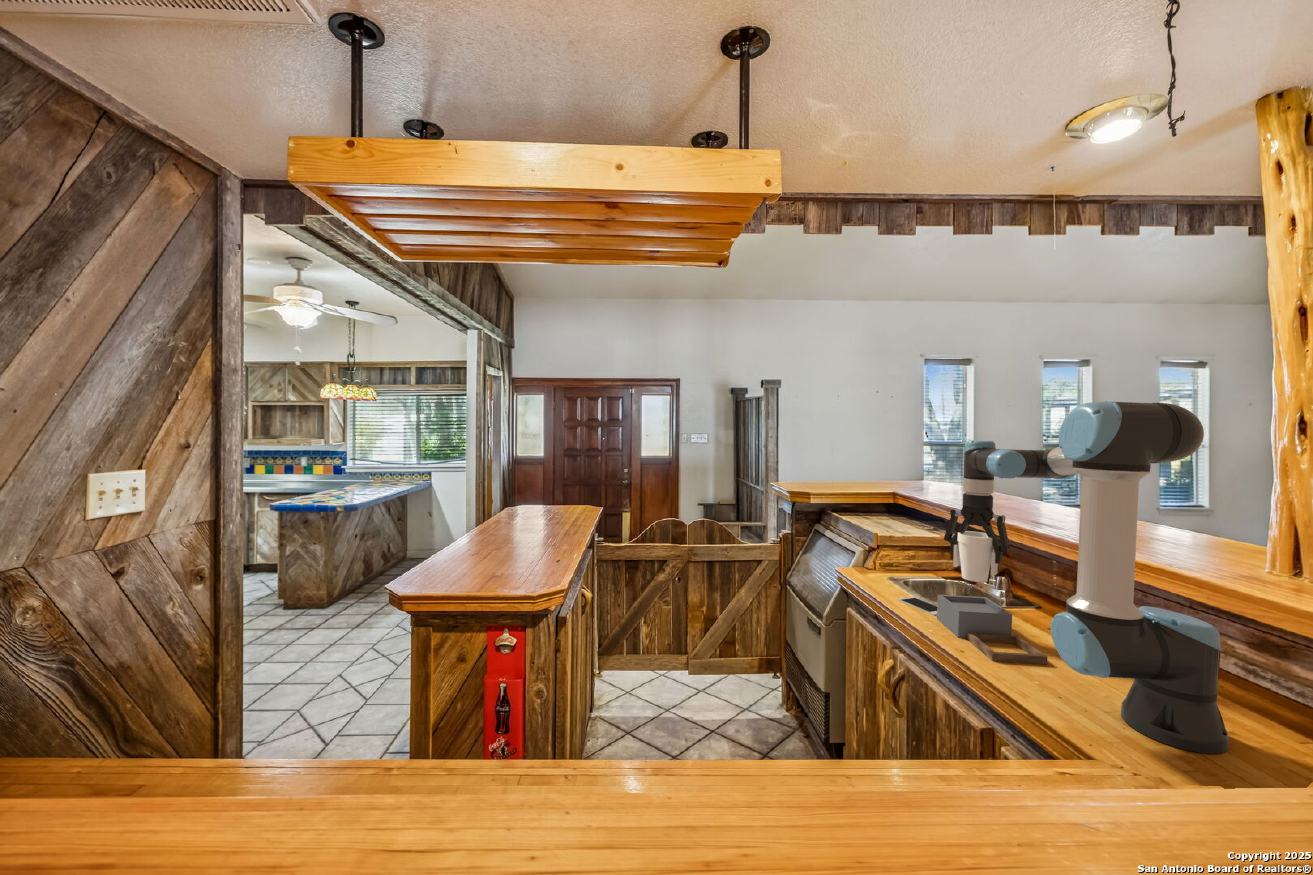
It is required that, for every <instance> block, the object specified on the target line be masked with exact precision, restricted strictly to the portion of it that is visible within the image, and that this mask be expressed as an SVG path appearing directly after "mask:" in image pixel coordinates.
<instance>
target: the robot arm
mask: <svg viewBox="0 0 1313 875" xmlns="http://www.w3.org/2000/svg"><path fill="white" fill-rule="evenodd" d="M1204 431H1205V430H1204V426H1203V424H1202V421H1201V420H1200V418H1198V416H1196V414H1194V413H1193V412H1192V411H1190V410H1189V409H1186V408H1185V407H1182V406H1180V405H1177V404H1173V403H1168V402H1167V403H1166V402H1133V401H1132V402H1130V401H1127V402H1125V401H1097V402H1085V403H1082V404H1080V405H1077V406H1075V407H1074V408H1073V409H1071V411H1070V412H1069V413H1068V414H1067V415H1066V416H1065V417H1064V419H1063V421H1062V423H1061V425H1060V428H1059V431H1058V446H1057V447H1053V448H1049V449H1043V450H1042V449H1033V450H1032V449H1008V448H1007V449H1003V448H1002V449H1001V448H996V442H994V441H993V440H981V439H980V440H977V439H976V440H975V439H974V440H972V439H969V440H967V441H966V442H965V443H964V444H965V445H964V446H965V447H964V452H963V456H964V457H963V458H964V460H963V461H964V462H963V484H962V485H963V486H962V491H963V492H964V493H962V508H961V509H957V508H953V509H950V511H949V512H950V514H949V515H950V518H949V521H948V523H947V528H946V530H945V533H944V536H943V540H944V541H945V542H948V543H949V544H950V555H953V559H952V560H953V561H952V567H953V568H957V567H961V562H960V553H959V543H958V540H957V539H958V532H960V533H961V534H964V532H965V531H967V530H968V528H969V526H977V527H981V528H982V529H983V530H984V533H986V534H987V536H988V538H992V546H993V548H994V550H993V552H992V559H991V564H990V576H996V575H997V574H998V568H999V567H998V566H999V565H1000V564H1002V562H1003V553H1005V552H1009V551H1010V550H1011V545H1010V542H1009V537H1008V533H1007V528H1006V524H1005V522H1006V516H1005V515H1002V514H1001V515H999V514H995V512H994V510H993V509H994V496H993V495H992V494H994V485H995V477H996V478H1000V479H1009V480H1010V479H1015V478H1020V479H1022V478H1027V479H1030V478H1031V479H1034V478H1035V479H1054V480H1062V479H1072V478H1074V477H1075V476H1076V475H1077V474H1078V475H1079V476H1080V478H1081V483H1080V504H1079V505H1080V506H1079V507H1080V508H1079V527H1078V529H1079V531H1078V554H1077V576H1076V579H1077V580H1076V593H1075V594H1074V595H1072V596H1071V597H1069V598H1067V599H1066V604H1065V605H1066V609H1065V610H1066V611H1062V612H1059V613H1057V614H1055V615H1054V617H1053V618H1052V619H1051V622H1050V634H1051V640H1052V642H1053V645H1054V647H1055V649H1056V650H1055V651H1057V653H1058V655H1059V656H1060V658H1061V659H1062V661H1063V662H1064V663H1065V664H1066V665H1067V666H1068V667H1069V668H1070V669H1072V670H1073V671H1074V672H1076V673H1078V674H1080V675H1082V676H1083V675H1084V676H1091V677H1098V678H1100V679H1105V678H1112V679H1113V678H1114V679H1118V678H1119V679H1133V682H1132V684H1131V686H1130V688H1129V690H1128V692H1127V695H1126V697H1125V699H1123V701H1122V702H1121V705H1120V716H1121V719H1122V720H1123V721H1124V722H1125V723H1126V724H1127V725H1128V726H1129V727H1130V728H1132V729H1134V730H1136V731H1137V732H1139V733H1140V734H1143V735H1144V736H1146V737H1149V738H1151V739H1153V740H1155V741H1158V742H1159V743H1162V744H1165V745H1167V746H1171V747H1175V748H1178V749H1181V750H1185V751H1190V752H1194V753H1201V754H1211V755H1213V754H1214V755H1215V754H1216V755H1217V754H1223V753H1226V752H1228V750H1229V744H1230V737H1229V732H1228V731H1227V729H1226V726H1225V722H1224V720H1223V716H1222V713H1221V711H1220V708H1219V705H1218V691H1219V690H1218V688H1219V679H1220V678H1219V676H1220V666H1221V665H1220V664H1221V652H1222V648H1221V634H1220V631H1219V630H1218V629H1217V628H1216V626H1214V625H1213V624H1211V623H1208V622H1207V621H1204V620H1201V619H1199V618H1196V617H1193V616H1190V615H1187V614H1184V613H1180V612H1177V611H1174V610H1169V609H1164V608H1160V607H1155V606H1148V605H1146V606H1145V605H1144V606H1143V605H1142V606H1140V607H1137V606H1136V605H1135V603H1134V601H1135V600H1134V598H1135V597H1134V596H1135V578H1136V577H1135V572H1136V550H1137V536H1138V535H1137V531H1138V530H1137V529H1138V514H1139V513H1138V512H1139V510H1138V506H1139V487H1140V481H1141V480H1142V479H1143V478H1146V477H1147V476H1148V475H1150V474H1151V465H1152V464H1160V463H1168V462H1171V463H1172V462H1176V461H1177V462H1178V461H1181V460H1182V459H1186V458H1188V457H1189V456H1191V455H1193V454H1194V453H1196V452H1197V450H1199V448H1200V447H1201V446H1202V443H1203V442H1204V437H1205V432H1204ZM961 515H962V517H963V518H964V519H963V521H962V522H961V523H960V524H961V525H960V526H959V528H957V530H956V532H955V533H954V531H955V528H956V526H957V522H958V520H959V517H960V516H961ZM993 519H994V522H995V523H996V527H997V532H998V537H999V539H998V537H997V535H996V533H995V531H994V528H993V525H992V524H991V520H993ZM953 534H954V535H953ZM999 540H1000V541H999Z"/></svg>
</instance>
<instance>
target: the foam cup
mask: <svg viewBox="0 0 1313 875" xmlns="http://www.w3.org/2000/svg"><path fill="white" fill-rule="evenodd" d="M957 540H958V543H957V544H959V553H960V570H961V578H962V579H964V580H966V581H969V582H976V583H986V582H988V578H989V574H990V570H991V560H992V552H993V551H995V550H994V548H993V546H992V538H988V536H987V534H986V532H979V531H975V530H974V531H972V530H971V531H970V530H966V531H965V532H964V534H961V533H960V532H958V539H957Z"/></svg>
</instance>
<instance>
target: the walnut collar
mask: <svg viewBox="0 0 1313 875" xmlns="http://www.w3.org/2000/svg"><path fill="white" fill-rule="evenodd" d="M966 640H967V641H969V642H970V643H971V644H972V645H973V646H974V647H976V648H977V649H978V650H979V651H980V652H981V653H982V654H984V656H986V657H987V658H988V659H990V661H991V662H1005V663H1019V664H1021V663H1022V664H1034V665H1035V664H1036V665H1048V656H1047V655H1046V654H1045V653H1043V652H1042V651H1040V650H1038V649H1037V648H1036V647H1035V646H1033V645H1032V644H1031V643H1029V642H1028V641H1026V640H1025V639H1024V638H1022V637H1020V636H1019V635H1017V634H1015V635H1014V634H1011V635H1002V634H986V633H969V632H968V634H967V638H966ZM986 643H995V644H996V643H998V644H1009V645H1010V644H1011V645H1012V644H1013V645H1016V646H1018V647H1019V648H1020V649H1022V650H1023V651H1024V652H1026V653H1020V652H1019V653H1018V652H1006V651H1004V652H1003V651H995V650H993V649H992V648H991V647H990V646H988V645H987V644H986Z"/></svg>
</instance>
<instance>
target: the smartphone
mask: <svg viewBox="0 0 1313 875" xmlns="http://www.w3.org/2000/svg"><path fill="white" fill-rule="evenodd" d="M896 601H898V602H901V603H903V604H906V605H908V606H910V607H912V608H915V609H917V610H919V611H921V612H923V613H927V614H928V615H931V616H933V617H935V616H936V617H937V605H935V604H932V603H930V602H927V601H925V600H922V599H920V598H918V597H915V596H912V595H911V596H903V597H897V598H896Z"/></svg>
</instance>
